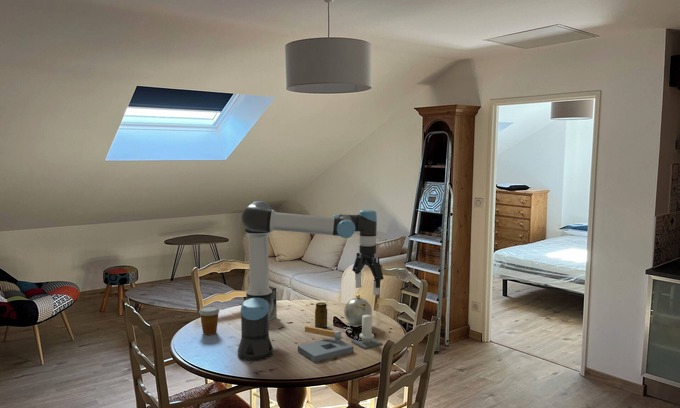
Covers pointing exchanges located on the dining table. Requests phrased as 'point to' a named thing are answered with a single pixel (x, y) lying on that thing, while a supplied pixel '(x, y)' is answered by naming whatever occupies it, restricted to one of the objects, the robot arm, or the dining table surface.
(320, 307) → the condiment
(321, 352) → the socket board
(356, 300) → the teapot
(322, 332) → the orange rectangular bar
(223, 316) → the dining table surface
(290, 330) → the dining table surface
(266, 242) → the robot arm
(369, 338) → the white tall cylinder
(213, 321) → the disposable coffee cup
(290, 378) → the dining table surface
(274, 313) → the coffee box
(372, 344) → the pad
